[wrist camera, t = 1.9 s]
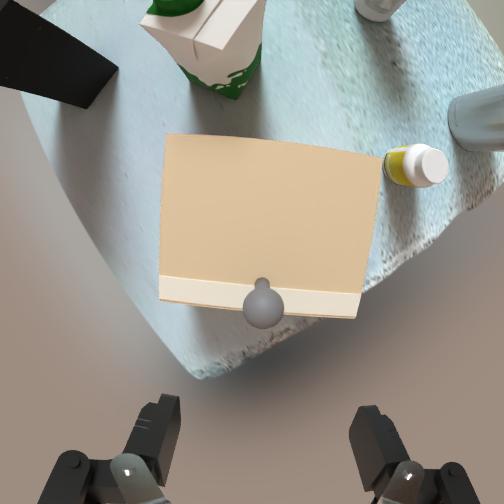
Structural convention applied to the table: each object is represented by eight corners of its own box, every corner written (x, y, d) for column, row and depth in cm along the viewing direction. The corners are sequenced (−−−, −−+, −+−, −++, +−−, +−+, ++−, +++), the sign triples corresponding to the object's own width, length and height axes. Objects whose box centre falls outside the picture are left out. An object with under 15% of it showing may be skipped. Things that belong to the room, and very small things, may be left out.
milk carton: (211, 34, 32) (180, -54, 13) (270, 57, 33) (282, -30, 14) (180, 84, 34) (119, 19, 15) (239, 109, 35) (223, 49, 16)
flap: (380, 158, 25) (418, 155, 18) (353, 315, 29) (377, 354, 22) (168, 134, 25) (138, 122, 18) (161, 298, 29) (135, 334, 22)
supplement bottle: (396, 192, 38) (432, 199, 28) (374, 161, 37) (407, 159, 27) (420, 169, 37) (459, 171, 27) (399, 139, 36) (436, 132, 26)
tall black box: (120, 67, 33) (-13, -14, 6) (87, 110, 35) (-66, 75, 8) (90, 47, 32) (-32, -22, 5) (60, 87, 34) (-77, 50, 7)
